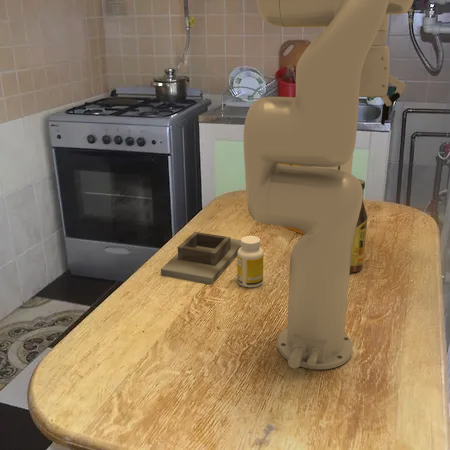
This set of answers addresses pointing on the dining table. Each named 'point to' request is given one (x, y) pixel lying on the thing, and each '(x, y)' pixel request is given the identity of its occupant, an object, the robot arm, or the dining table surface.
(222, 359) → the dining table surface
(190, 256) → the collar board
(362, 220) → the sauce bottle
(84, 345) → the dining table surface
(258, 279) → the supplement bottle
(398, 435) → the dining table surface
